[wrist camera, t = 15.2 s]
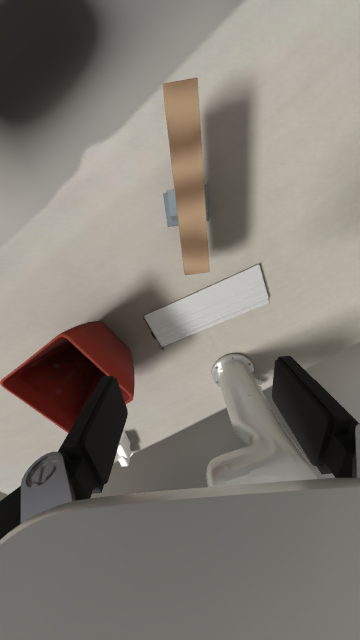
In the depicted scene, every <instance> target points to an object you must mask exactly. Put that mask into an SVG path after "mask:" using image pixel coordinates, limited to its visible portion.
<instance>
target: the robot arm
mask: <svg viewBox="0 0 360 640" xmlns="http://www.w3.org/2000/svg"><path fill="white" fill-rule="evenodd" d="M212 377H213V380H214V382H215V383H216V384H217V385H218V386H220V387H221V390H222V393H223V396H224V400H225V403H226V407H227V410H228V413H229V416H230V420H231V423H232V426H233V428H234V430H235V432H236V433H237V435H238V436H239V437H240V438H241V439H242V440H243V441H245V442H246V443H247V444H249V445H248V446H245V447H243V448H241V449H238V450H235V451H232V452H229V453H226V454H223V455H220V456H218V457H215V458H214V459H212V460H211V462H210V463H209V464H208V467H207V482H208V487H206V488H194V489H183V490H172V491H160V492H149V493H137V494H126V495H117V496H108V497H99V498H90V497H91V494H92V493H101V492H102V489H103V486H104V484H106V483H107V482H108V479H109V475H110V473H111V469H112V466H113V462H114V459H115V456H116V452H117V449H118V446H119V442H120V439H121V435H122V432H123V429H124V425H125V422H126V419H127V414H128V412H127V407H126V404H125V401H124V398H123V395H122V393H121V390H120V387H119V384H118V381H117V378H114V376H103V377H102V378H101V379H100V381H99V383H98V385H97V386H96V388H95V390H94V392H93V393H92V395H91V397H90V398H89V400H88V402H87V403H86V404H85V406H84V408H83V409H82V411H81V413H80V415H79V416H78V418H77V420H76V421H75V423H74V425H73V427H72V428H71V430H70V432H69V433H68V435H67V437H66V439H65V440H64V442H63V444H62V446H61V447H60V449H59V451H58V452H51V453H47V454H46V455H44V456H42V457H40V458H39V459H38V460H36V461H35V462H34V463H33V464H32V465H31V466H30V467H29V469H28V470H27V471H26V473H25V475H24V477H23V479H22V482H21V486H20V487H19V488H17V489H16V490H15V491H13V492H12V493H11V494H9V495H8V496H7V497H5V498H4V499H3V500H1V501H0V640H360V423H358V422H357V421H356V420H355V419H354V418H353V417H352V416H351V415H350V414H349V413H348V412H347V411H346V410H345V409H344V408H343V407H342V406H341V405H340V404H339V403H338V402H337V401H336V400H335V399H334V398H333V397H332V396H331V395H330V394H329V393H328V392H327V391H326V390H325V389H324V388H323V387H322V386H321V385H320V384H319V383H318V382H317V381H316V380H314V379H313V378H312V377H311V376H310V375H309V374H308V373H307V372H306V371H305V370H304V369H303V368H302V367H301V366H300V365H299V364H298V363H297V362H296V361H295V360H294V359H293V358H292V357H291V356H283V357H278V360H275V367H274V378H273V388H272V398H273V401H274V403H275V404H276V406H277V408H278V409H279V411H280V413H281V414H282V416H283V418H284V419H285V421H286V422H287V424H288V426H289V427H290V429H291V431H292V432H293V434H294V435H295V437H296V439H297V441H298V442H299V444H300V445H301V447H302V449H303V450H304V452H305V454H306V455H307V457H308V459H309V460H310V462H311V463H312V464H313V465H314V466H317V467H318V469H319V471H320V472H321V474H330V473H333V475H334V476H335V478H327V479H317V476H316V474H315V472H314V470H313V469H312V467H311V465H310V464H309V462H308V461H307V459H306V458H305V456H304V455H303V454H302V453H301V451H300V450H299V449H298V447H297V446H296V445H295V444H294V442H293V441H292V440H291V438H290V437H289V435H288V434H287V433H286V431H285V430H284V428H283V427H282V425H281V423H280V422H279V420H278V419H277V417H276V415H275V413H274V412H273V410H272V408H271V407H270V405H269V403H268V401H267V399H266V398H265V396H264V394H263V392H262V391H261V390H262V388H261V387H260V386H259V385H258V384H260V385H261V384H262V380H260V379H256V377H255V376H254V366H253V364H252V362H251V361H250V360H249V359H248V358H247V357H245V356H243V355H240V354H230V355H226V356H224V357H222V358H220V359H219V360H218V361H217V362H216V363H215V364H214V366H213V368H212Z"/></svg>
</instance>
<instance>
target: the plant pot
mask: <svg viewBox="0 0 360 640" xmlns="http://www.w3.org/2000/svg"><path fill="white" fill-rule="evenodd" d="M103 376H114V378H117V381H118V384H119V387H120V390H121V393H122V395H123V398H124V401H125V404H127V403H129V402H130V401H132V400H133V395H134V366H133V360H132V356H131V352H130V350H129V349H128V348H127V347H126V346H125V345H124V344H123V343H122V342H121V341H120V340H119V339H118V338H117V337H116V335H115V334H114V333H113V332H112V331H111V330H110V329H109V328H108V327H107V326H106V325H105V324H104V323H103V322H101V321H94V322H88V323H84V324H81V325H78V326H76V327H73V328H71V329H69V330H67V331H65V332H63V333H61V334H59V335H58V336H56V337H55V338H54V339H53V340H51V341H50V342H49V343H48V344H46V345H45V346H44V347H43V348H41V349H40V350H39V351H38V352H36V353H35V354H34V355H33V356H31V357H30V358H29V359H28V360H26V361H25V362H24V363H23V364H21V365H20V366H19V367H18V368H16V369H15V370H14V371H12V372H11V373H10V374H8V375H7V376H6V377H4V378H3V379H2V380H1V381H0V384H1V386H2V387H4V388H5V389H6V390H8V391H9V392H11V393H12V394H14V395H15V396H16V397H18V398H19V399H21V400H22V401H24V402H25V403H26V404H28V405H29V406H31V407H32V408H34V409H35V410H36V411H38V412H39V413H41V414H42V415H43V416H45V417H46V418H48V419H49V420H50V421H52V422H53V423H55V424H56V425H57V426H59V427H60V428H62V429H63V430H65V431H66V432H67V433H69V432H70V430H71V428H72V427H73V425H74V423H75V421H76V420H77V418H78V416H79V415H80V413H81V411H82V409H83V408H84V406H85V404H86V403H87V402H88V400H89V398H90V397H91V395H92V393H93V392H94V390H95V388H96V386H97V385H98V383H99V381H100V379H101V378H102V377H103Z"/></svg>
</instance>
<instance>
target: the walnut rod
mask: <svg viewBox="0 0 360 640" xmlns="http://www.w3.org/2000/svg"><path fill="white" fill-rule="evenodd" d="M163 91H164V101H165V112H166V120H167V129H168V137H169V146H170V155H171V163H172V172H173V180H174V189H175V197H176V206H177V214H178V223H179V232H180V240H181V249H182V257H183V266H184V273H185V275H190V274H198V273H205V272H210V270H209V254H208V238H207V222H206V206H205V190H204V174H203V158H202V143H201V127H200V111H199V95H198V79H197V78H192V79H187V80H181V81H175V82H170V83H164V84H163Z"/></svg>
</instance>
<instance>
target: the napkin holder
mask: <svg viewBox="0 0 360 640" xmlns="http://www.w3.org/2000/svg"><path fill="white" fill-rule="evenodd" d="M130 444H131V443H130V441H129V439H128V437H127V435H126V433H125V432H122V435H121V439H120V442H119V446H118V449H117V452H118V454H119V456H118V460H119V462H120V464H121V466H128V464H129V459H130V457H131V456H132V454H131V450H130Z"/></svg>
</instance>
